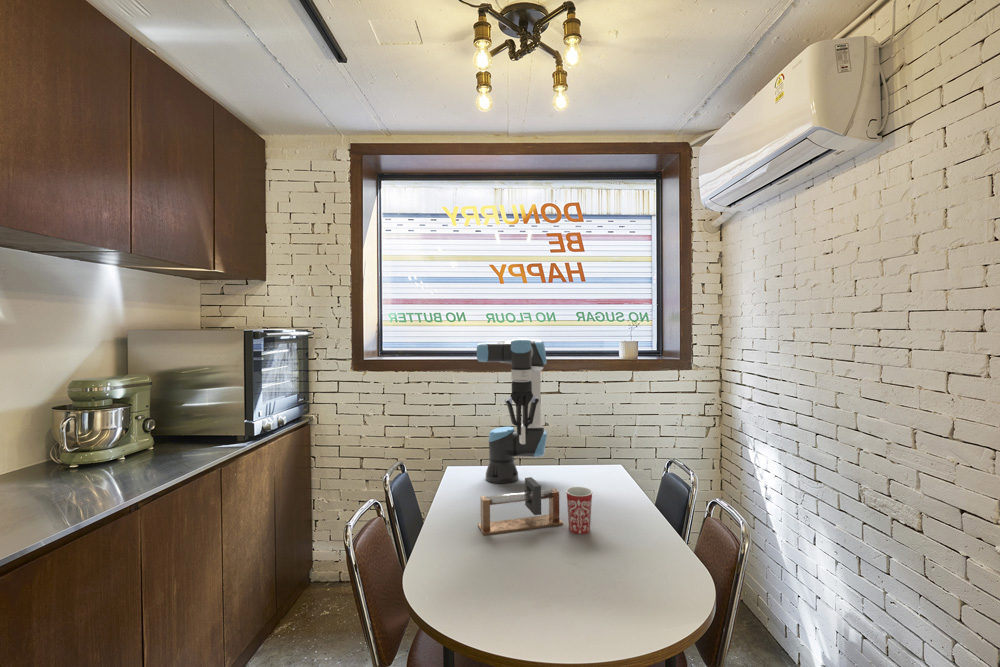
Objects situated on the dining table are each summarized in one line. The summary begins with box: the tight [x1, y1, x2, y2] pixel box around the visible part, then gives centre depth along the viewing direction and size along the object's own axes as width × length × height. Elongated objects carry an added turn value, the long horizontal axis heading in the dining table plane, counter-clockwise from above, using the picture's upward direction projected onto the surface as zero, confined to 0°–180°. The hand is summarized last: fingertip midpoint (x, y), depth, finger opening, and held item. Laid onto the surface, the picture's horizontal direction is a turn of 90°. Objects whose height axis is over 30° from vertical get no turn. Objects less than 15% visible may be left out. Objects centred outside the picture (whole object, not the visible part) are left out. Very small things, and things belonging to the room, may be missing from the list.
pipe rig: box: [477, 488, 564, 536], centre depth 168 cm, size 29×8×12 cm, turn 106°
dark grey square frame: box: [524, 476, 542, 516], centre depth 169 cm, size 2×10×10 cm, turn 16°
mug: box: [565, 486, 594, 535], centre depth 166 cm, size 13×9×14 cm
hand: (522, 443), depth 178 cm, fingers closed
